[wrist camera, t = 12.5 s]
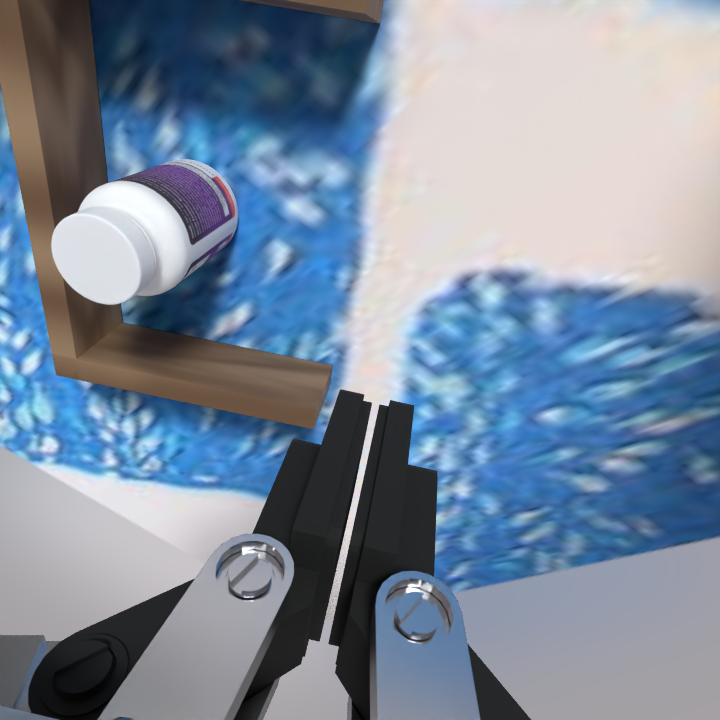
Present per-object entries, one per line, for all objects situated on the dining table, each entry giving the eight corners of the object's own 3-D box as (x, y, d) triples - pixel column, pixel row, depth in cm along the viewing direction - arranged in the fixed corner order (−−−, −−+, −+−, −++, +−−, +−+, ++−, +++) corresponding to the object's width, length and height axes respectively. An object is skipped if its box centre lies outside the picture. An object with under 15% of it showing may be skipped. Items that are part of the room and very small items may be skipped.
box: (51, -70, 24) (-35, -101, 20) (385, -16, 23) (371, -35, 19) (103, 337, 35) (56, 375, 31) (330, 384, 34) (313, 429, 30)
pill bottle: (151, 147, 28) (25, 180, 20) (244, 170, 28) (156, 213, 20) (152, 240, 31) (41, 303, 23) (236, 262, 31) (157, 334, 22)
